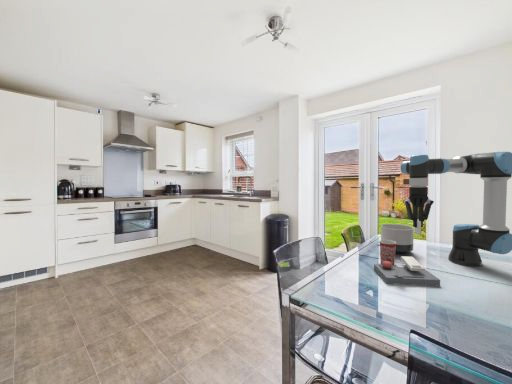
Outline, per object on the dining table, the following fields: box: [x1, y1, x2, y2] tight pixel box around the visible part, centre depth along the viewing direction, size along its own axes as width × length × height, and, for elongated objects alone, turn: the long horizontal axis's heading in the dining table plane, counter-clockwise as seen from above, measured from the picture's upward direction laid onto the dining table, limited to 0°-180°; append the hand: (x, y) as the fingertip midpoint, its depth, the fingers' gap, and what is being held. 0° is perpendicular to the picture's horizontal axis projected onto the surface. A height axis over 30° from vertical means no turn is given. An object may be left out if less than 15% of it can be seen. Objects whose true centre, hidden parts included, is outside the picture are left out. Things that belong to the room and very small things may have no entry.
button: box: [381, 261, 392, 268], centre depth 127 cm, size 4×4×2 cm
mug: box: [379, 239, 397, 265], centre depth 142 cm, size 13×9×14 cm
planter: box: [380, 223, 415, 254], centre depth 161 cm, size 19×19×18 cm
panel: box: [373, 263, 441, 287], centre depth 122 cm, size 24×18×5 cm
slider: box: [395, 264, 404, 277], centre depth 116 cm, size 3×3×5 cm
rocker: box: [400, 256, 425, 271], centre depth 124 cm, size 6×12×2 cm, turn 171°
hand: (417, 233), depth 116 cm, fingers closed
